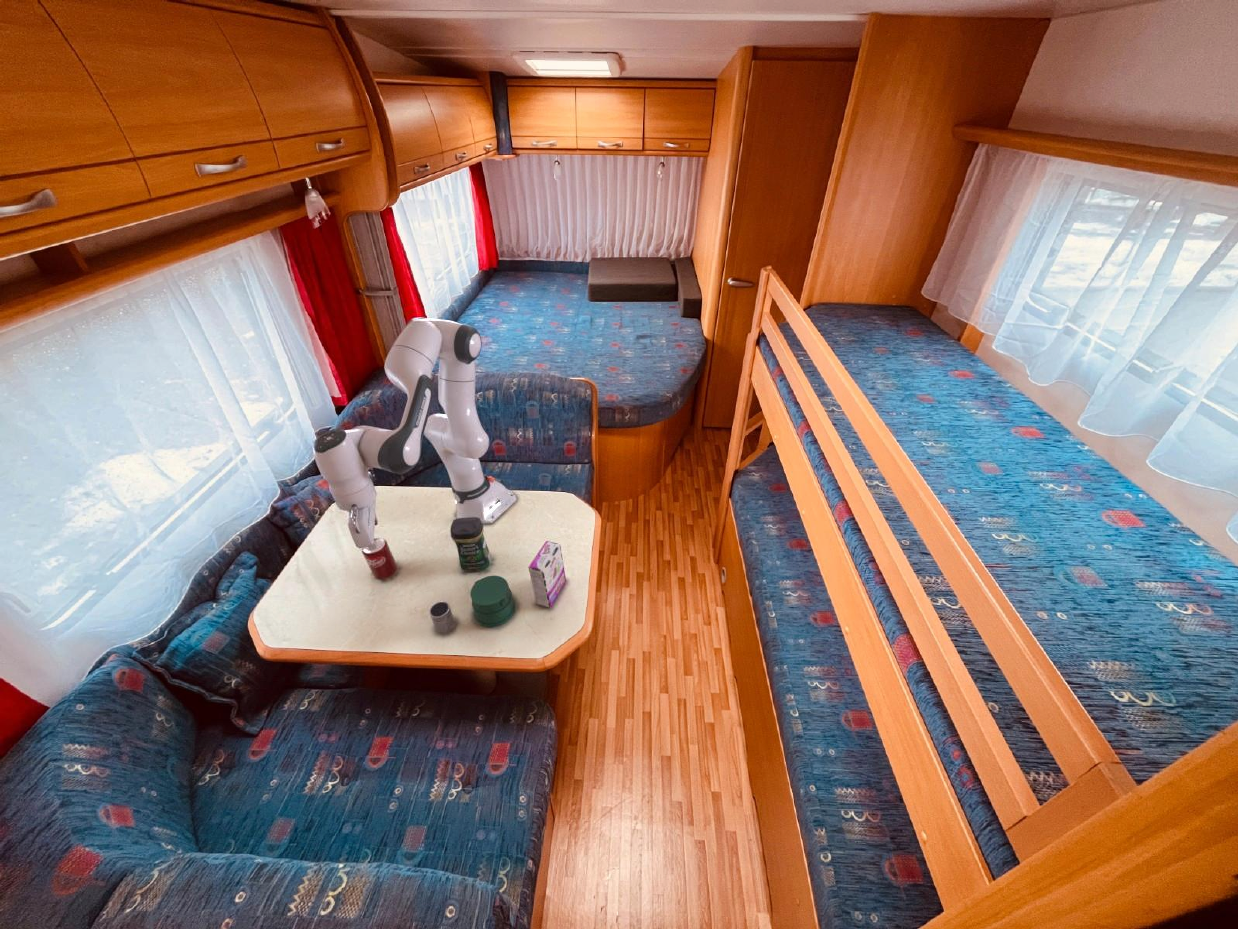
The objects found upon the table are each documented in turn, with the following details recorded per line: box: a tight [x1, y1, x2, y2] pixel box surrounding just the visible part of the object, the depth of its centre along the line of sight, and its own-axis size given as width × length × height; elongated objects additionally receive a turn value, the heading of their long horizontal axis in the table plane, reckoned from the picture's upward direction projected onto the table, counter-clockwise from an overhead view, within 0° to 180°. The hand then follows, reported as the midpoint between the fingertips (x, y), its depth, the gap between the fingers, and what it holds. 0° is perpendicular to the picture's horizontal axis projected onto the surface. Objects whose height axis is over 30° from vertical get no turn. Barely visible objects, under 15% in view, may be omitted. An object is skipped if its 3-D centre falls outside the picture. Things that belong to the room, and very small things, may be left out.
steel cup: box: [428, 600, 457, 635], centre depth 132 cm, size 5×5×8 cm
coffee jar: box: [449, 517, 492, 573], centre depth 148 cm, size 10×8×19 cm
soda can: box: [361, 537, 398, 580], centre depth 148 cm, size 7×7×12 cm
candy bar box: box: [527, 540, 567, 609], centre depth 138 cm, size 11×5×16 cm, turn 160°
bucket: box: [469, 575, 517, 628], centre depth 136 cm, size 12×12×9 cm
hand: (374, 535), depth 121 cm, fingers open, 8 cm apart
